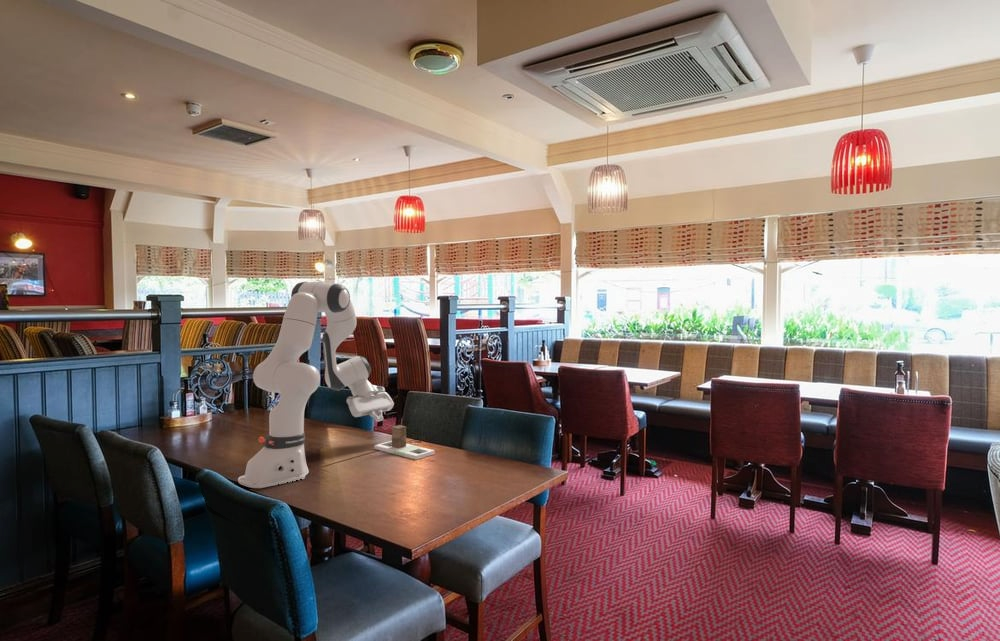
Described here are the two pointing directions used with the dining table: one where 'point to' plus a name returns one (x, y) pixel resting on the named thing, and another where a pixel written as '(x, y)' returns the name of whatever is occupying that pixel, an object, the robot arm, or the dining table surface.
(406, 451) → the board
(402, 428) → the walnut block
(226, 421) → the dining table surface
